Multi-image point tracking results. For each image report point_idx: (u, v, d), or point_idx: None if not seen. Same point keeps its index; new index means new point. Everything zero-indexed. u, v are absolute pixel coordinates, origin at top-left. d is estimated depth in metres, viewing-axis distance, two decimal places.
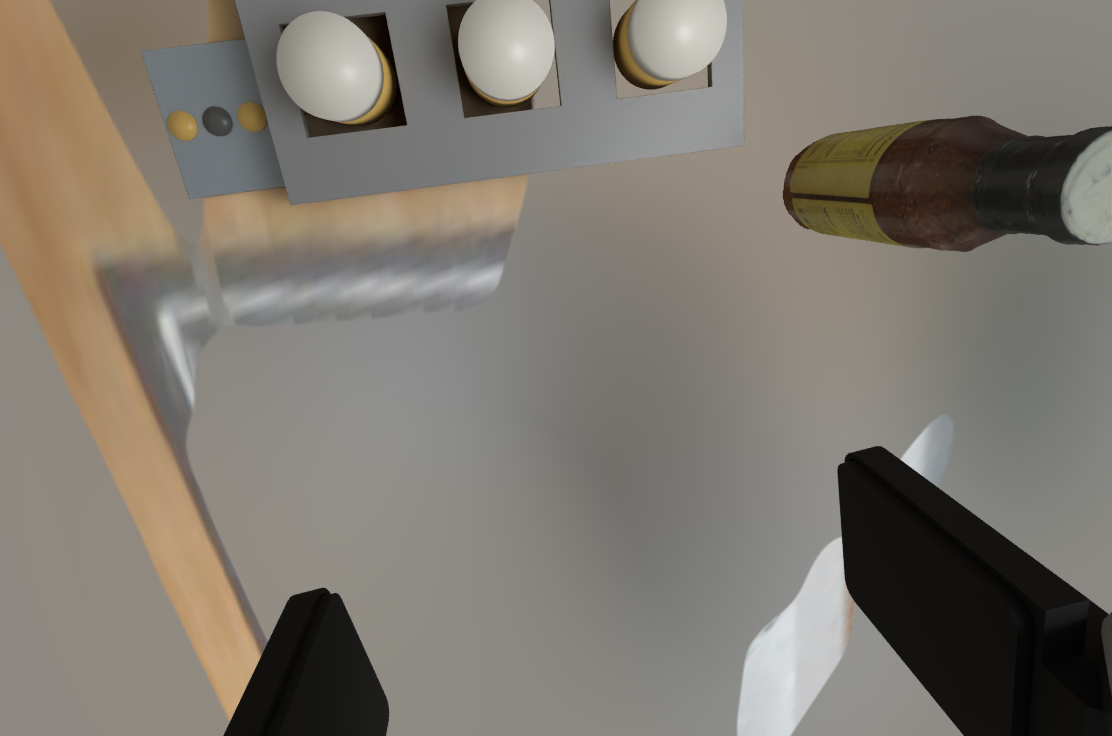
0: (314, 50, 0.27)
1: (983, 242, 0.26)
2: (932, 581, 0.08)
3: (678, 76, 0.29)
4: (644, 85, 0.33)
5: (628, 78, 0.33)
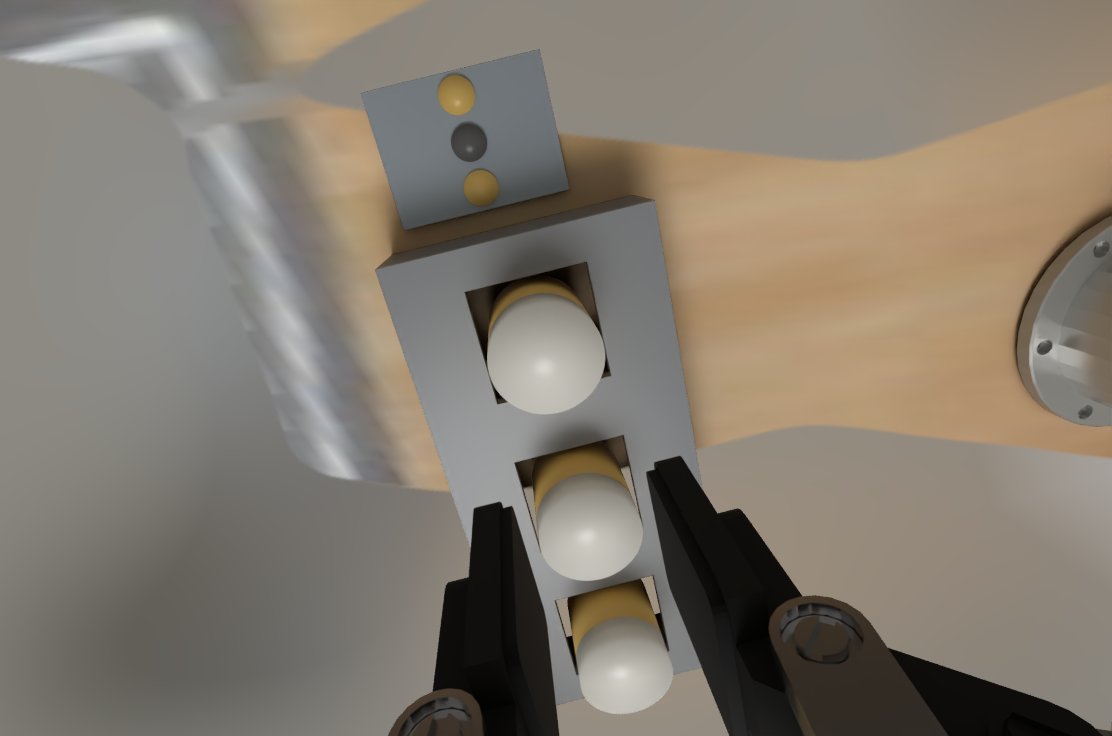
0: (563, 345, 0.23)
1: None
2: (686, 575, 0.09)
3: (581, 686, 0.28)
4: (570, 610, 0.32)
5: None
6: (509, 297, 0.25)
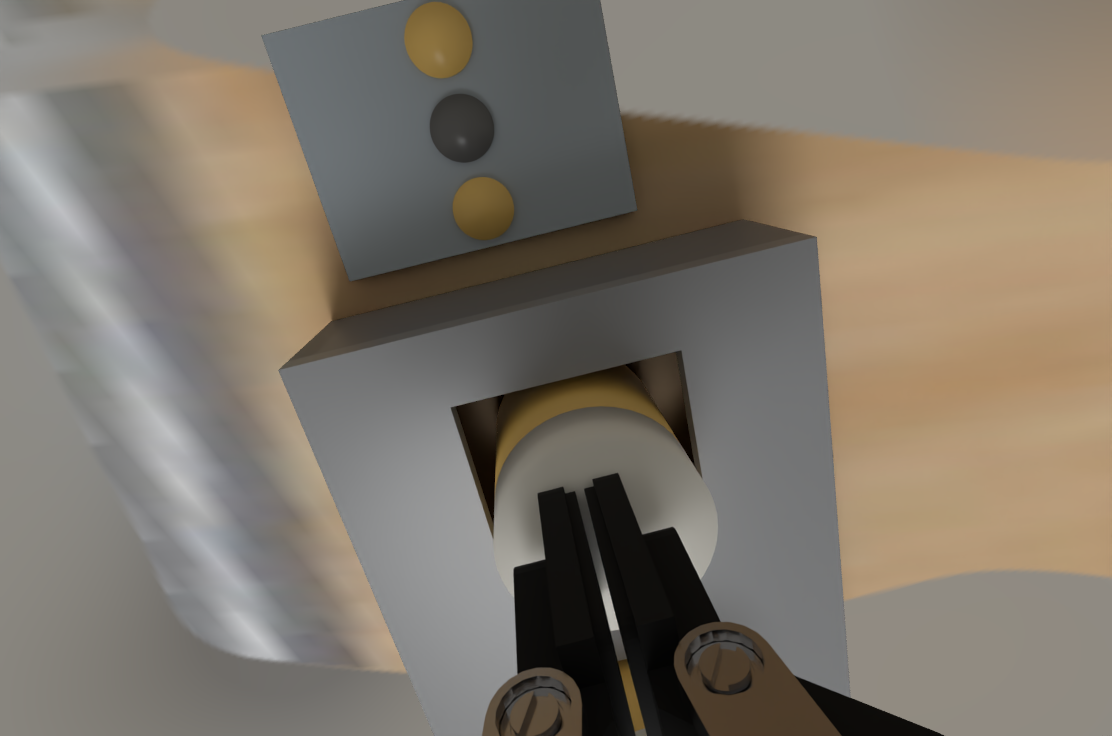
0: (639, 515, 0.12)
1: None
2: (612, 597, 0.09)
3: None
4: None
5: None
6: (533, 404, 0.14)
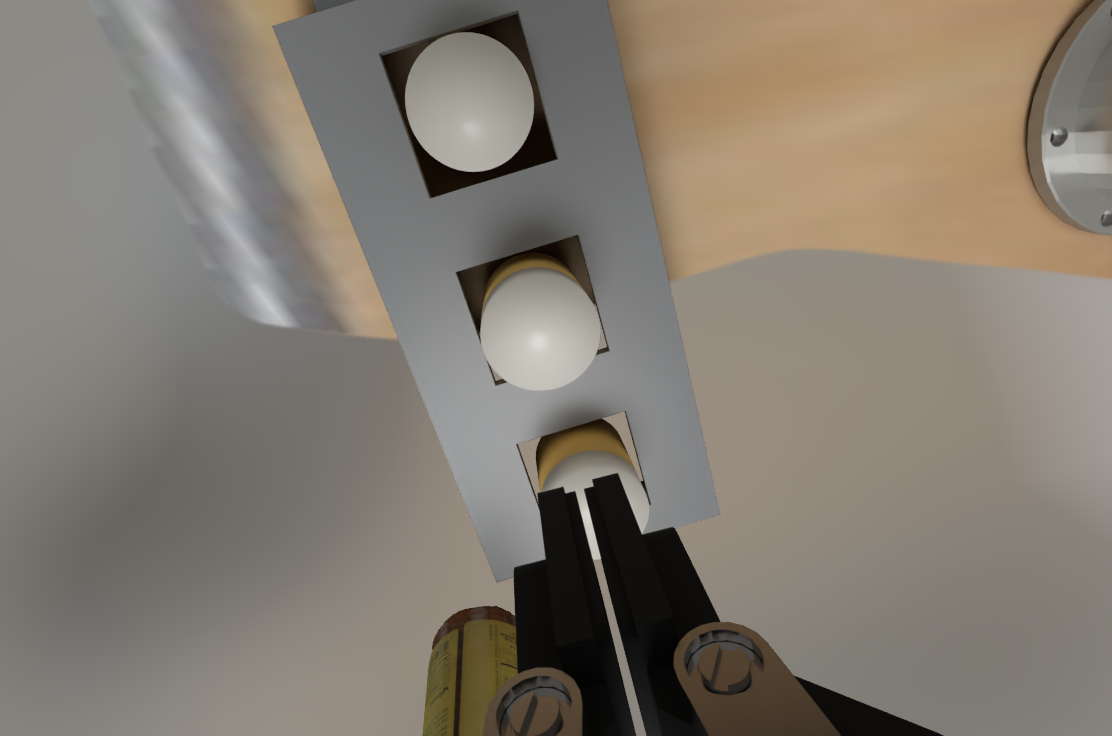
0: (486, 86, 0.21)
1: None
2: None
3: None
4: (537, 463, 0.29)
5: (542, 442, 0.29)
6: None
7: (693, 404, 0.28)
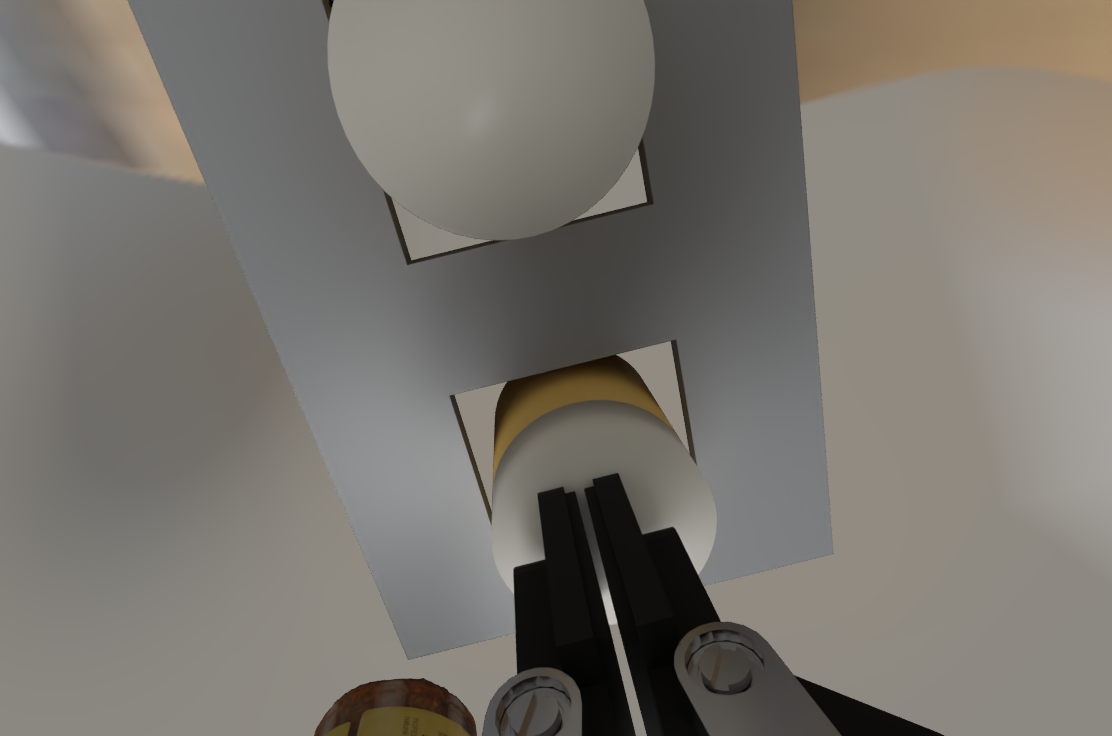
0: None
1: None
2: (612, 597, 0.09)
3: (494, 552, 0.12)
4: (495, 428, 0.16)
5: (506, 390, 0.16)
6: None
7: (811, 335, 0.14)
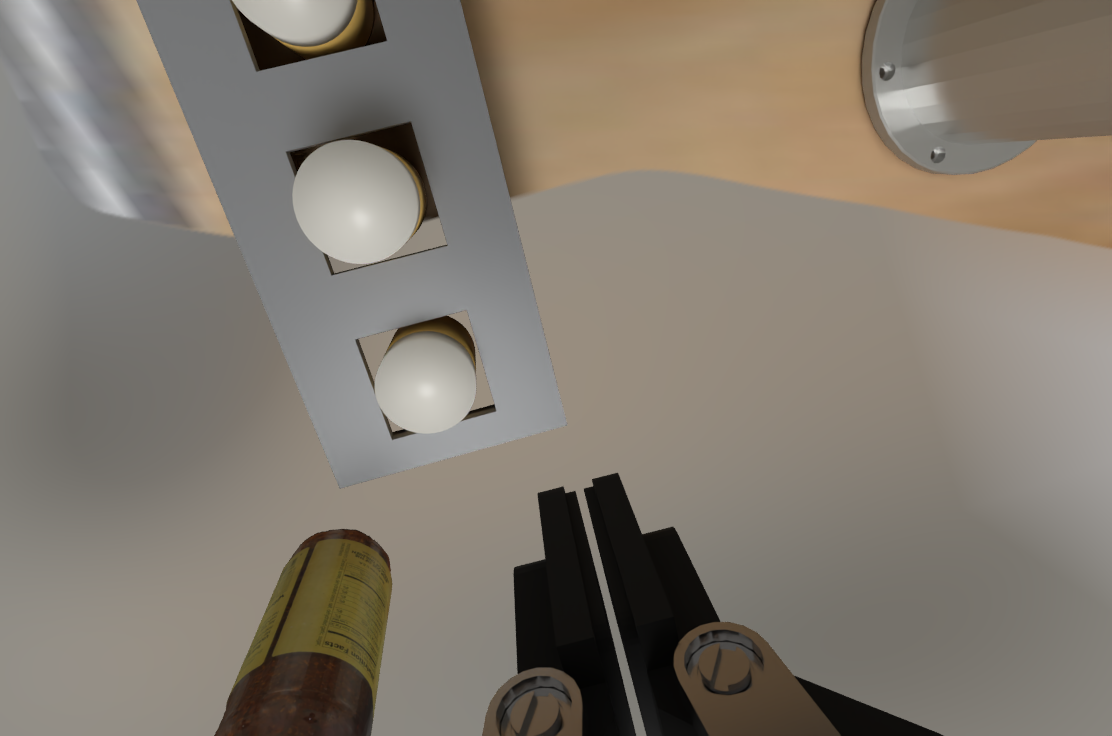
0: None
1: None
2: None
3: (377, 396, 0.27)
4: None
5: None
6: None
7: (535, 307, 0.28)
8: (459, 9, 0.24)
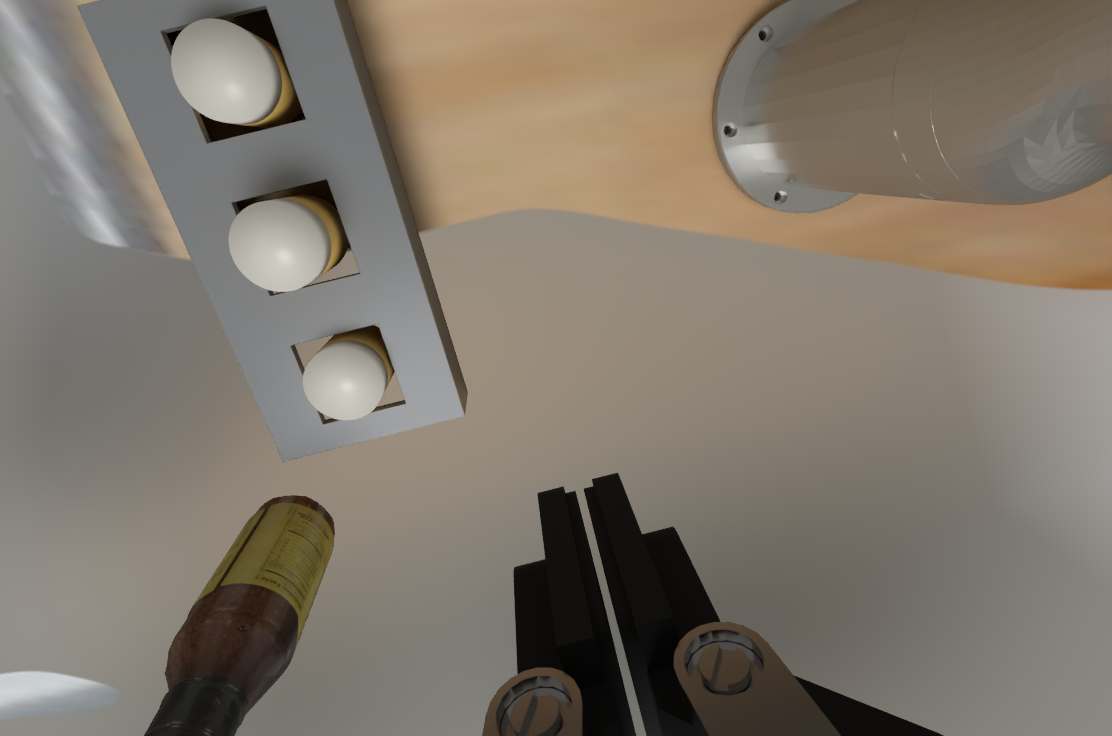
0: (232, 59, 0.28)
1: None
2: None
3: (305, 390, 0.34)
4: None
5: None
6: None
7: (432, 322, 0.35)
8: (361, 94, 0.31)
